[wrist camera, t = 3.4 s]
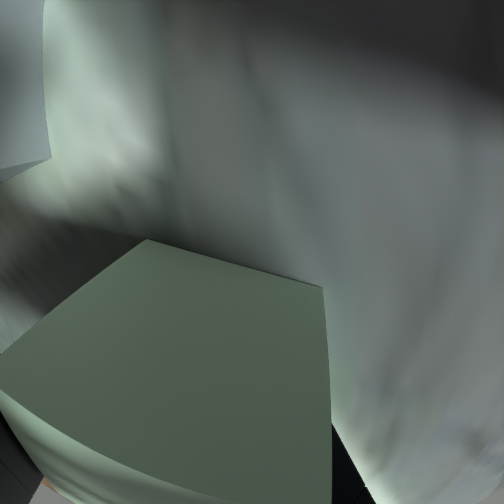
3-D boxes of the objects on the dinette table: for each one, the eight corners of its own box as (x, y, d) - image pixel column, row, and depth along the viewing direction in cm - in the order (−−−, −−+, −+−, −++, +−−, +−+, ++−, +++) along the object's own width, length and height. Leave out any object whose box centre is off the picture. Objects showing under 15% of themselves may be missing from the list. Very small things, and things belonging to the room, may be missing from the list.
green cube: (322, 287, 8) (331, 515, 2) (273, 406, 10) (244, 562, 4) (146, 239, 8) (-19, 373, 3) (140, 364, 10) (58, 493, 5)
